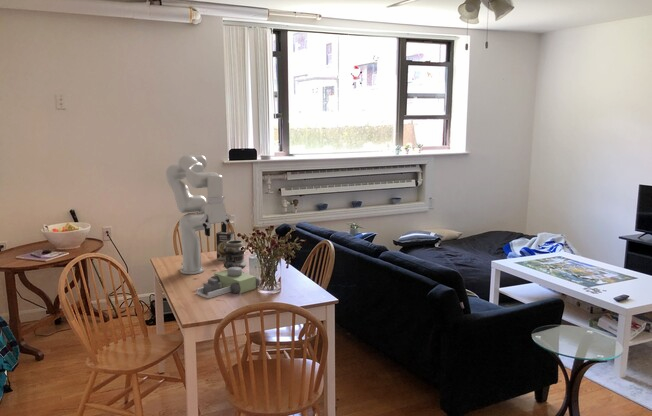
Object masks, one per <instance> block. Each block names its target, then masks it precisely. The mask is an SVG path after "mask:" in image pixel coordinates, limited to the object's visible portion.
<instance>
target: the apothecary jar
mask: <svg viewBox="0 0 652 416" xmlns="http://www.w3.org/2000/svg"><path fill="white" fill-rule="evenodd" d="M242 247H244V248H245V247H246V246H245V244H244V241H242V240H239V239H234V240H230V241H227V244H226V246H225V247H224V252H225V253H226V260H224V262H223V267H224V268H225V270H227V269H228V268H230V267H240V268H242V270H244V269H245V268H246V266H247V261H246V260H245V252H246V250H247V249H246V250H244V252H243V251H242V250H241V248H242ZM242 273H245V271H242Z"/></svg>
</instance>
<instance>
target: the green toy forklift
mask: <svg viewBox="0 0 652 416" xmlns="http://www.w3.org/2000/svg"><path fill="white" fill-rule="evenodd" d="M242 270H243V269H242V268H240V267H230V268H228V269H225V270H221V271H220V270H219V271H217V272H214V273H213V275H214V276H211V277H210V279H211V278H213V279H216V280H218V283H220V289H218V290H215V291H212V292H208V295H207V294H204V287H203V286H202V287H198V288H196V292H195V295H198V296H201V297H202V298H206V299H211V298H212V299H213V298H214V297H218V296H221V295H224V294H228V293H233V294H234V295H235V294H241V293H242V294H243V293H245V292H249V291H252V290H254V289H257V288H258V287H259V286H260V282H261V281H260V279H259V278H258V277H257V276H255V275H252V274H248V273H246V272H244V273H242V272H243V271H242Z"/></svg>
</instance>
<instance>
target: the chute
mask: <svg viewBox="0 0 652 416" xmlns="http://www.w3.org/2000/svg"><path fill="white" fill-rule="evenodd" d="M202 285H203V286H202V287H204V293H203V294H205V295H207V296H208V292H212V291H215V290H218V289H221V288H220V283H218V280H216V279H213V278H211V277H210V278H207V282H204V283H203V284H202Z"/></svg>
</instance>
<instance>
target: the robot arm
mask: <svg viewBox="0 0 652 416" xmlns="http://www.w3.org/2000/svg"><path fill="white" fill-rule="evenodd" d="M207 166H208V161H207V158H206V157H205V156H204V155H202V154H186V155H183V156H181V157H179V159H178V163H175V164H171V165H169V166H167V168H166V169H165V176H166V181H167V183H168V185H169V186H170V188H171V190H172V193H173V195H174V200H175V203H176V204H175V205H176V207H177V210H178V212H179V213H180V214H184V215H182V216H180V218H179V222H178V223H179V228H180V234H181V246H182V247H181V248H182V262H181V263H180V266H182V268H181V269H180V273H181V274H184V275H196V274H202V273H203V272H204V271H205V267H204V266H202V253H201V252H202V251H201V239H200V236H199V235H198V234H197V233H196V232H199V231H200V232H201V231H204V235H205V236H206V237H210V236H211V228H212V226H213V225H215V224H219V223H221V232H223V233H226V232H227V231H228V230H227V229H228V227H227V226H228V224H229V222H230V219H231V217H232V215H231V214H228V213H227V210H226V205H225V204H226V203H225V202H224V200H225V199H226V197H225V196H224V177H223V175H221V174H218V173H217V172H215V171H210V172H209V171H207V172H205V170H206V168H207ZM182 180H186V182H187V184H188V185H189V186H191V187H192V188H193V189H205V188H206V191H207V193H206V194H207V196H206V197H207V199H206V197H205V196H204V195H201V194H192V193H191V192H190V188H189V186H188V185H187V184H186V183H185V182H183V181H182Z"/></svg>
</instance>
